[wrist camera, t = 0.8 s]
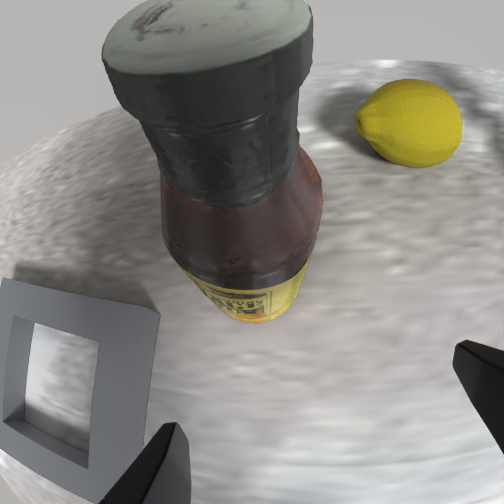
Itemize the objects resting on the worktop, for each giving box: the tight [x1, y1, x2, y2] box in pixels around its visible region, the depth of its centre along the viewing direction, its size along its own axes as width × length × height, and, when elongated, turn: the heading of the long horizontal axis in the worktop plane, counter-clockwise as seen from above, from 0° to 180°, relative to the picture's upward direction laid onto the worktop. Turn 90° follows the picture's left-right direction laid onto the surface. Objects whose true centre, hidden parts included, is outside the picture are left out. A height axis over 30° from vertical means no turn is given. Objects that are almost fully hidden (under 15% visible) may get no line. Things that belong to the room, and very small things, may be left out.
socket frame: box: [0, 277, 160, 504], centre depth 20 cm, size 16×16×3 cm
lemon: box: [355, 79, 462, 168], centre depth 23 cm, size 11×8×8 cm
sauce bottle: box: [102, 0, 323, 324], centre depth 14 cm, size 6×6×20 cm
